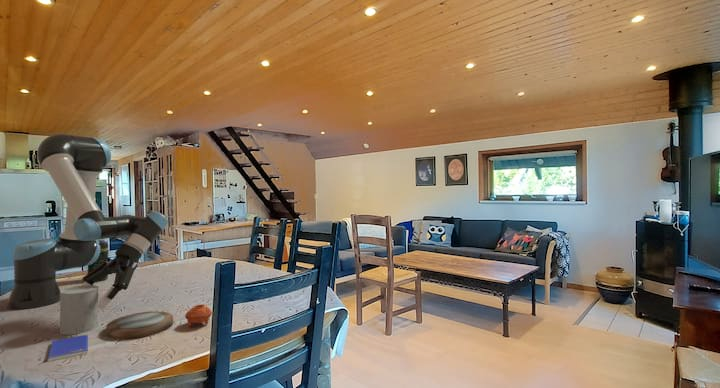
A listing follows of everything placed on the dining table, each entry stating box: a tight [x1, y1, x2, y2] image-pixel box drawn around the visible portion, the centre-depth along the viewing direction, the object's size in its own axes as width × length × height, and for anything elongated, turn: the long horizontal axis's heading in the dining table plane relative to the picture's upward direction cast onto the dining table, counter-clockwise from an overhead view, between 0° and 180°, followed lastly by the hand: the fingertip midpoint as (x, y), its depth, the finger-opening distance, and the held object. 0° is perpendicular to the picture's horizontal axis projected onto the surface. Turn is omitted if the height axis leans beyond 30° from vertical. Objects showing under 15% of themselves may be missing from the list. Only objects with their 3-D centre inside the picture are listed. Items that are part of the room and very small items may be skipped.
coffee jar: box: [87, 239, 109, 282], centre depth 172 cm, size 10×8×19 cm
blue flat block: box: [47, 334, 89, 362], centre depth 99 cm, size 2×8×12 cm
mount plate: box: [105, 310, 174, 340], centre depth 114 cm, size 18×18×2 cm
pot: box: [184, 304, 213, 328], centre depth 118 cm, size 8×8×7 cm
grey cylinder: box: [59, 284, 99, 336], centre depth 113 cm, size 10×10×12 cm
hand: (85, 304), depth 113 cm, fingers open, 13 cm apart
